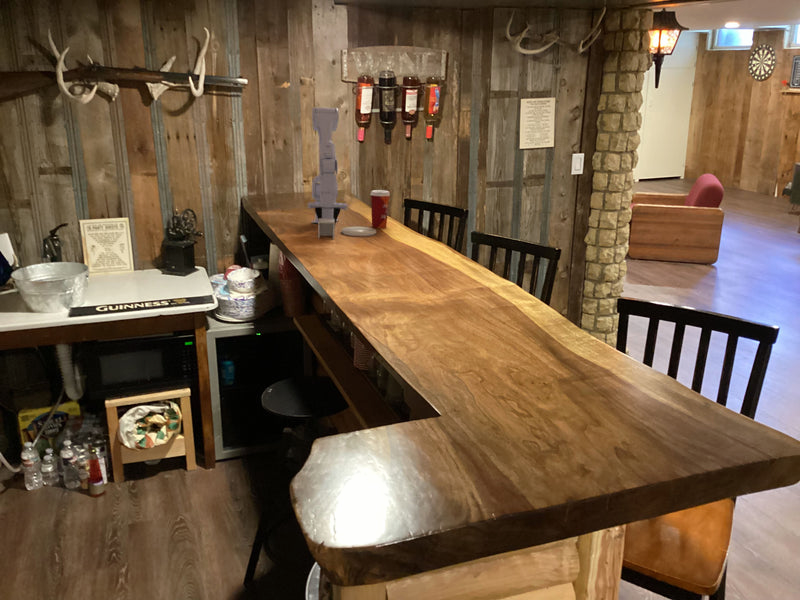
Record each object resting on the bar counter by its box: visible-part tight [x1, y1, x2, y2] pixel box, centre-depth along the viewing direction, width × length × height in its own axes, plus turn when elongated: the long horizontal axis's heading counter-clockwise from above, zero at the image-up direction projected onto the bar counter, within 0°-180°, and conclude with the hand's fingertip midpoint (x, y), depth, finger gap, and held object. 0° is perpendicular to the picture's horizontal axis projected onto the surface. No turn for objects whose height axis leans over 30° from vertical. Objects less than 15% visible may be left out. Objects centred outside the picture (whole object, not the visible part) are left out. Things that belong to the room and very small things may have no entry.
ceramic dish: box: [341, 226, 377, 238], centre depth 261 cm, size 13×13×1 cm
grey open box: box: [317, 218, 336, 240], centre depth 251 cm, size 6×6×6 cm
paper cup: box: [369, 189, 391, 229], centre depth 271 cm, size 8×8×14 cm
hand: (327, 228), depth 260 cm, fingers closed on maple block, 4 cm apart
